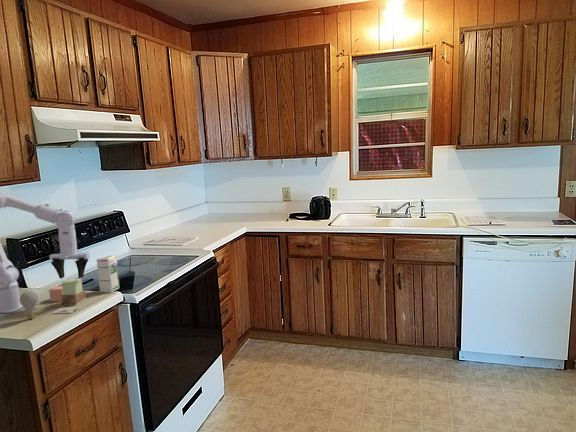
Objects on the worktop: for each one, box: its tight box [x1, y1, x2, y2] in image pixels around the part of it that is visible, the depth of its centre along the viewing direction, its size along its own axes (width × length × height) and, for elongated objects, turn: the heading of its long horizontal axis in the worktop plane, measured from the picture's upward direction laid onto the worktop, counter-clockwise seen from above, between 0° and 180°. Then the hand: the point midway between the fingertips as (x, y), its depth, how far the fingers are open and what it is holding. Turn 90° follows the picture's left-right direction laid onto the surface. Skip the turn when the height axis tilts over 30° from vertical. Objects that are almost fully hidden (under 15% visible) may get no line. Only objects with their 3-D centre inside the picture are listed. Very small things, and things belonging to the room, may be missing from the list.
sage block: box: [61, 278, 84, 295], centre depth 162 cm, size 5×5×5 cm
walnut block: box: [61, 290, 87, 305], centre depth 163 cm, size 6×6×4 cm
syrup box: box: [96, 255, 120, 293], centre depth 176 cm, size 6×6×14 cm
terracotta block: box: [48, 285, 63, 302], centre depth 167 cm, size 5×5×5 cm
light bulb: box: [19, 290, 39, 320], centre depth 145 cm, size 6×6×10 cm
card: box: [51, 307, 75, 315], centre depth 153 cm, size 7×5×1 cm
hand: (71, 277), depth 161 cm, fingers open, 7 cm apart
